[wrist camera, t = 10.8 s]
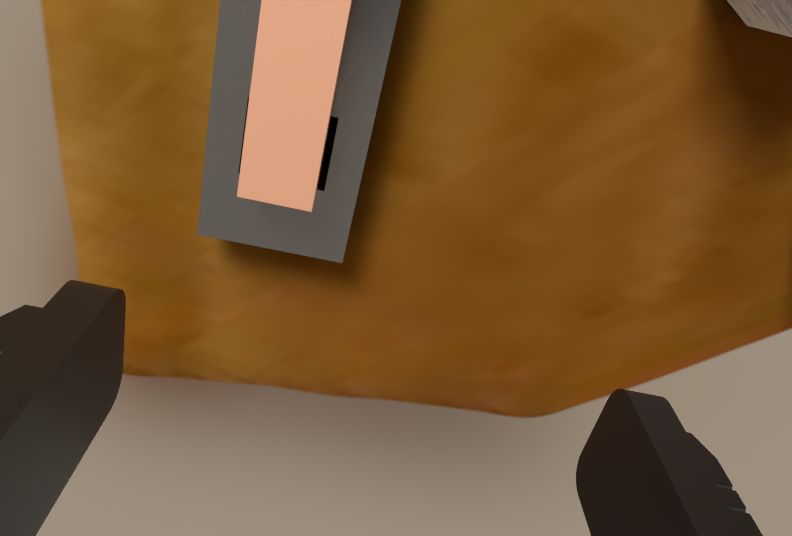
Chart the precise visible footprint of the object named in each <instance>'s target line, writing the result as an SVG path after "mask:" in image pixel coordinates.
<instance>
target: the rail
mask: <svg viewBox="0 0 792 536" xmlns="http://www.w3.org/2000/svg"><path fill="white" fill-rule="evenodd" d="M400 4H401V0H352V5H351V10H350V16H349V21H348V26H347V31H346V37H345V42H344V47H343V53H342V58H341V63H340V69H339V74H338V79H337V85H336V90H335V95H334V101H333V106H332V111H331V116H333V117H337V118H339V119H338V124H337V129H336V134H335V140H334V145H333V150H332V155H331V160H330V165H329V168H325V167H321V170H320V175H319V180H318V185H317V191H316V195H315V200H314V204H313V208H312V212H309V211H305V210H300V209H295V208H290V207H285V206H280V205H275V204H270V203H265V202H261V201H256V200H251V199H246V198H241V197H237V191H238V183H239V175H240V167H241V159H242V151H243V143H244V135H245V127H246V119H247V111H248V104H249V96H250V88H251V80H252V72H253V64H254V56H255V48H256V40H257V32H258V24H259V16H260V8H261V0H221V1H220V11H219V21H218V31H217V41H216V51H215V61H214V71H213V81H212V91H211V101H210V111H209V121H208V131H207V141H206V151H205V161H204V171H203V181H202V191H201V201H200V211H199V221H198V231H197V235H202V236H207V237H212V238H218V239H223V240H228V241H233V242H238V243H243V244H248V245H253V246H258V247H263V248H268V249H273V250H278V251H283V252H288V253H293V254H298V255H303V256H308V257H314V258H319V259H324V260H329V261H334V262H339V263H343V258H344V254H345V249H346V245H347V240H348V236H349V231H350V227H351V223H352V218H353V214H354V209H355V205H356V200H357V196H358V191H359V187H360V182H361V178H362V173H363V169H364V165H365V160H366V156H367V151H368V147H369V142H370V138H371V133H372V129H373V124H374V120H375V115H376V111H377V107H378V102H379V98H380V93H381V89H382V84H383V80H384V75H385V71H386V66H387V62H388V57H389V53H390V49H391V44H392V40H393V35H394V31H395V26H396V22H397V17H398V13H399V8H400Z"/></svg>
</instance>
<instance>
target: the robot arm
mask: <svg viewBox="0 0 792 536" xmlns="http://www.w3.org/2000/svg"><path fill="white" fill-rule="evenodd" d="M125 307H126V299H125V293H124V291H123V290H121V289H116V288H111V287H106V286H101V285H96V284H91V283H86V282H80V281H75V280H70V281H68V282H67V283H66V284H65V285H64V286H63V287H62V288H61V289H60V290H59V291H58V292H57V293H56V294H55V295H54V296H53V298H52V299H51V300H50V301H49V302H48V303H47V304H46V305H45V306H44V307H43V308H40V307H34V306H29V305H24V306H22V307H20V308H18V309H16V310H14V311H11V312H9V313H7V314H5V315H3V316H1V317H0V536H36V534H37V532H38V531H39V529H40V527H41V526H42V524H43V522H44V521H45V519H46V517H47V516H48V514H49V512H50V511H51V509H52V507H53V506H54V504H55V502H56V500H57V499H58V497H59V496H60V494H61V492H62V490H63V489H64V487H65V485H66V484H67V482H68V480H69V478H70V477H71V475H72V474H73V472H74V470H75V469H76V467H77V465H78V464H79V462H80V460H81V459H82V457H83V455H84V453H85V452H86V450H87V449H88V447H89V445H90V443H91V441H92V440H93V438H94V437H95V435H96V433H97V432H98V430H99V428H100V426H101V425H102V423H103V422H104V420H105V418H106V416H107V415H108V413H109V412H110V410H111V408H112V406H113V404H114V401H115V399H116V396H117V394H118V390H119V387H120V383H121V378H122V372H123V354H124V330H125ZM576 485H577V492H578V496H579V499H580V502H581V505H582V508H583V511H584V514H585V518H586V521H587V524H588V527H589V530H590V533H591V536H762V534H761V532H760V530H759V529H758V527H757V526H756V524H755V522H754V520H753V519H752V517H751V515H750V514H748V513H746V511H745V510H746V507H745V505H744V504H743V502H742V500H741V499H740V497H739V495H738V494H737V492H736V491H733V490H732V484H731V482H730V480H729V479H728V477H727V475H726V474H725V472H724V470H723V469H722V467H721V465H720V464H719V462H718V460H717V459H716V458H715V457H714V456H713V455H712V454H711V453H710V452H709V451H708V450H707V449H706V448H705V447H704V446H703V445H702V444H701V443H700V442H699V441H698V440H697V439H696V438H695V437H694V436H693V435H692V434H691V433H687V432H686V431H685V429H684V428H683V426H682V424H681V422H680V421H679V419H678V417H677V415H676V414H675V412H674V410H673V408H672V407H671V405H670V403H669V402H668V401H667V400H666V399H665V398H663V397H660V396H655V395H649V394H644V393H639V392H634V391H629V390H624V389H617V390H615V391H614V392H613V393H612V394H611V395H610V397H609V399H608V400H607V402H606V404H605V406H604V408H603V410H602V412H601V414H600V416H599V418H598V420H597V423H596V424H595V426H594V429H593V430H592V432H591V434H590V437H589V439H588V441H587V443H586V445H585V447H584V449H583V451H582V453H581V455H580V458H579V461H578V465H577V471H576Z"/></svg>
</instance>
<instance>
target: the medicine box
mask: <svg viewBox="0 0 792 536" xmlns="http://www.w3.org/2000/svg"><path fill="white" fill-rule="evenodd" d="M727 1H728V2H729V4H730V5H731V6H732V7H733V9H734V10H735V11H736V13H737V14H738V15H739V16H740V18H741V19H742V20H743V21H744V23H745V24H746V25H747V26H749V27H754V28H757V29H761V30H765V31H769V32H773V33H777V34H781V35H784V36H789V37H792V0H727Z"/></svg>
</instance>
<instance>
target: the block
mask: <svg viewBox="0 0 792 536" xmlns="http://www.w3.org/2000/svg"><path fill="white" fill-rule="evenodd" d="M351 5H352V0H261V8H260V16H259V24H258V32H257V40H256V48H255V56H254V64H253V72H252V80H251V88H250V96H249V104H248V111H247V119H246V127H245V135H244V143H243V151H242V159H241V167H240V175H239V183H238V191H237V197H241V198H246V199H251V200H256V201H261V202H265V203H270V204H275V205H280V206H285V207H290V208H295V209H300V210H305V211H309V212H312V208H313V204H314V200H315V195H316V191H317V185H318V180H319V175H320V170H321V164H322V159H323V154H324V148H325V143H326V138H327V132H328V127H329V122H330V116H331V111H332V106H333V101H334V95H335V90H336V85H337V79H338V74H339V69H340V63H341V58H342V53H343V47H344V42H345V37H346V31H347V26H348V21H349V16H350V10H351Z"/></svg>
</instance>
